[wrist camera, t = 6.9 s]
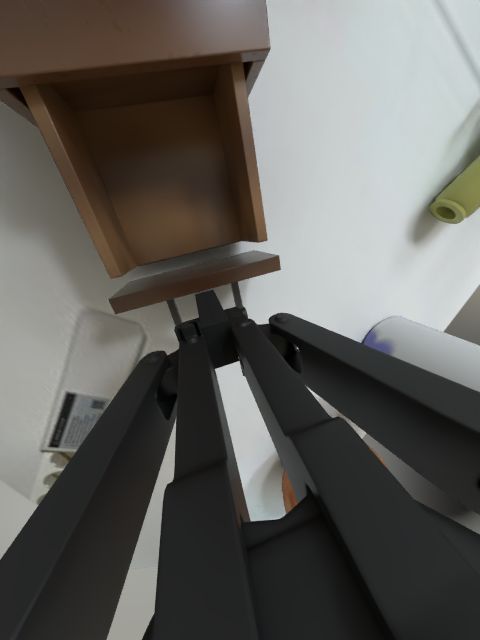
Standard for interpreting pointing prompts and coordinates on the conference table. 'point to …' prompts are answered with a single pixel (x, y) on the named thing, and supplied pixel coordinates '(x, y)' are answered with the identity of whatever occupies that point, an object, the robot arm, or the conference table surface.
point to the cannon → (459, 196)
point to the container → (428, 349)
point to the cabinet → (124, 40)
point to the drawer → (160, 174)
